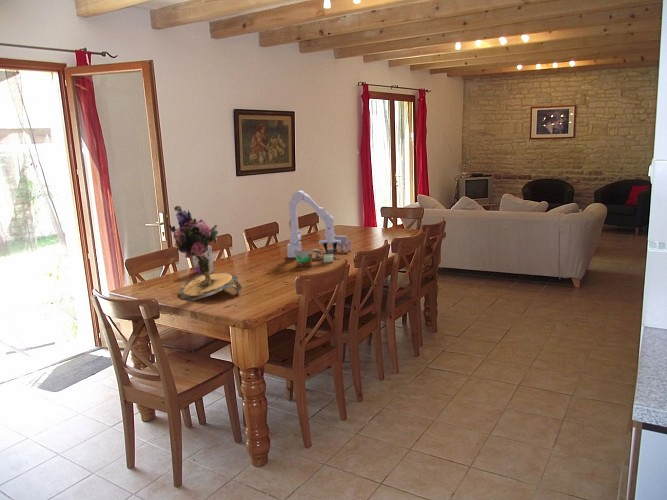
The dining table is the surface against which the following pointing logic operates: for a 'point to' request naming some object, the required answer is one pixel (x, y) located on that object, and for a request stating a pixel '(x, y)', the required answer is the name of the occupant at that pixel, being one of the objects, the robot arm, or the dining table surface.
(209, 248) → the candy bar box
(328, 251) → the gray metal block
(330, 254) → the pale green flanged block
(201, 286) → the bouquet
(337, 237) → the toy sheep
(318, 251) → the tan rounded lump
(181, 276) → the dining table surface
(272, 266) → the dining table surface
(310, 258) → the food container
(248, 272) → the dining table surface
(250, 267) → the dining table surface
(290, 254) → the robot arm
